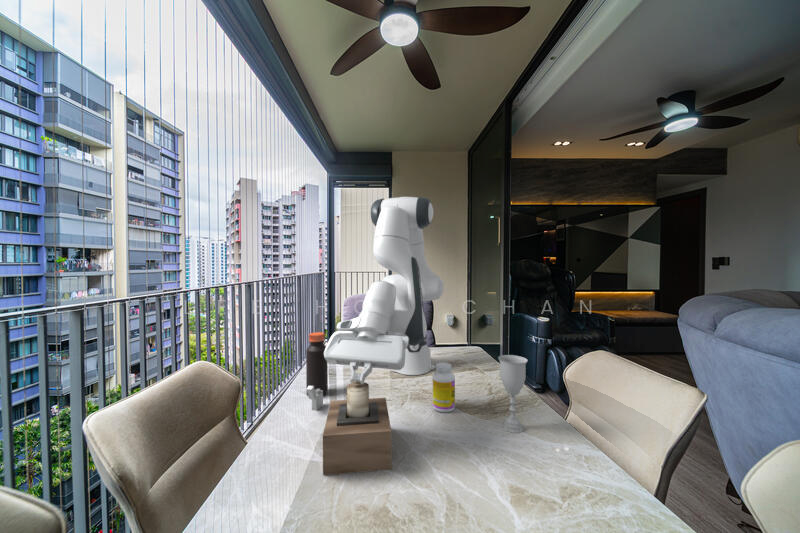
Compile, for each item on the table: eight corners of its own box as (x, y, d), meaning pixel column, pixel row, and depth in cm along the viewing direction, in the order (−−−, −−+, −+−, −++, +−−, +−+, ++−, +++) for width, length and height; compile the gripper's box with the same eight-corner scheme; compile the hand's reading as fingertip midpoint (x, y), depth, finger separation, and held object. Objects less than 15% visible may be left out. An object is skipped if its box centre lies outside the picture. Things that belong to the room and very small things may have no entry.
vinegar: (326, 388, 105) (326, 330, 105) (328, 396, 98) (328, 335, 98) (306, 391, 103) (305, 332, 102) (306, 399, 96) (306, 336, 96)
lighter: (318, 403, 93) (318, 378, 93) (323, 404, 93) (323, 378, 93) (306, 415, 86) (306, 387, 86) (311, 415, 86) (311, 387, 86)
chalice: (497, 431, 77) (497, 361, 77) (498, 418, 84) (498, 353, 84) (528, 437, 75) (528, 364, 75) (527, 423, 81) (527, 356, 81)
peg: (347, 415, 73) (347, 382, 72) (368, 414, 73) (368, 381, 73) (346, 426, 68) (346, 391, 68) (369, 425, 68) (368, 389, 68)
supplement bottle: (454, 414, 86) (454, 369, 86) (431, 412, 88) (431, 367, 88) (455, 403, 93) (455, 362, 93) (433, 402, 94) (433, 360, 94)
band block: (331, 432, 77) (330, 398, 77) (385, 428, 79) (385, 395, 79) (322, 475, 62) (322, 432, 62) (391, 469, 63) (391, 428, 63)
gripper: (412, 340, 78) (402, 393, 69) (339, 335, 84) (321, 384, 74) (408, 326, 74) (397, 380, 65) (332, 322, 79) (312, 372, 70)
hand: (356, 382), depth 69 cm, fingers closed
